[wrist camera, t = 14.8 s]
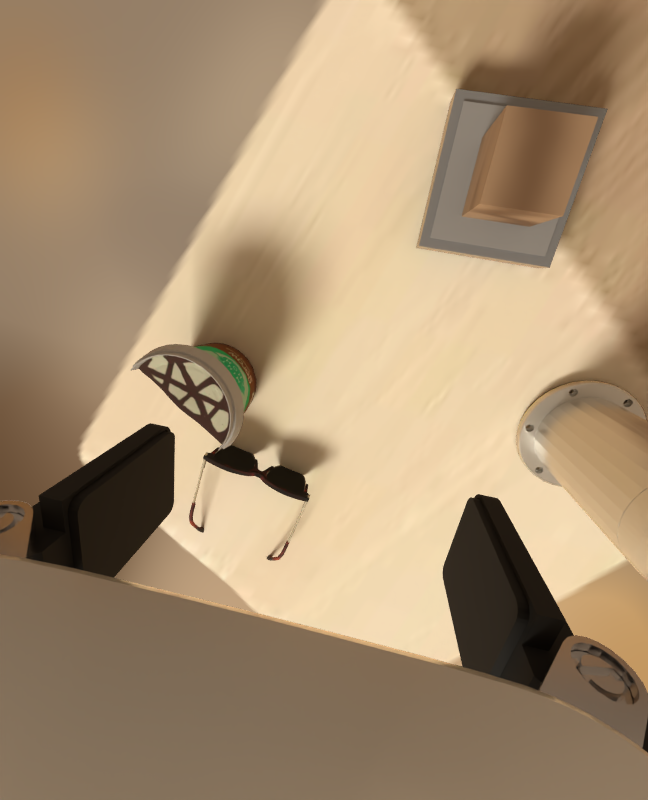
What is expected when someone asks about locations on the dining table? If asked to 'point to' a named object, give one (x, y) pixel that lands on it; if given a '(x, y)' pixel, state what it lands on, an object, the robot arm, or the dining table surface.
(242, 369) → the food container
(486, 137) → the cube
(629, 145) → the dining table surface
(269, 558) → the sunglasses
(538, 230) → the tray
